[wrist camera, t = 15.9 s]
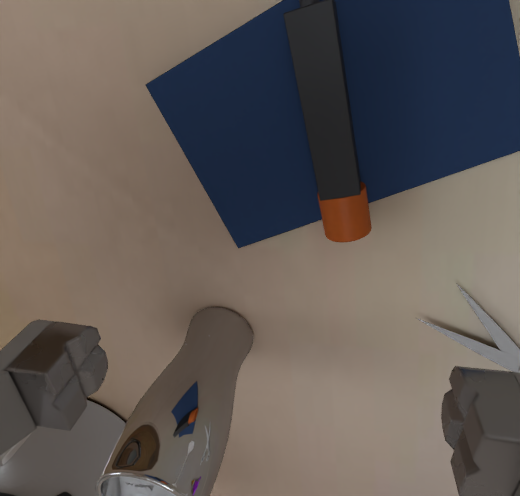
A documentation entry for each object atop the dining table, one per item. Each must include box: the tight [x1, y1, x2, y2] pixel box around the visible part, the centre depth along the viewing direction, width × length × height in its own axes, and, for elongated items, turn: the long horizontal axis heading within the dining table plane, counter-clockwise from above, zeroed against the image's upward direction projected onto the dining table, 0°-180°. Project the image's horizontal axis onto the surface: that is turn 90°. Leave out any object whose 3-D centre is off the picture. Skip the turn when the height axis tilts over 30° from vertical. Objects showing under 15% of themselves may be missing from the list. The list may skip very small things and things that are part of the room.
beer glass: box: [95, 307, 254, 496], centre depth 29 cm, size 7×7×15 cm
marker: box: [283, 0, 371, 242], centre depth 22 cm, size 14×3×3 cm, turn 14°
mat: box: [146, 0, 520, 248], centre depth 23 cm, size 20×13×1 cm, turn 117°
